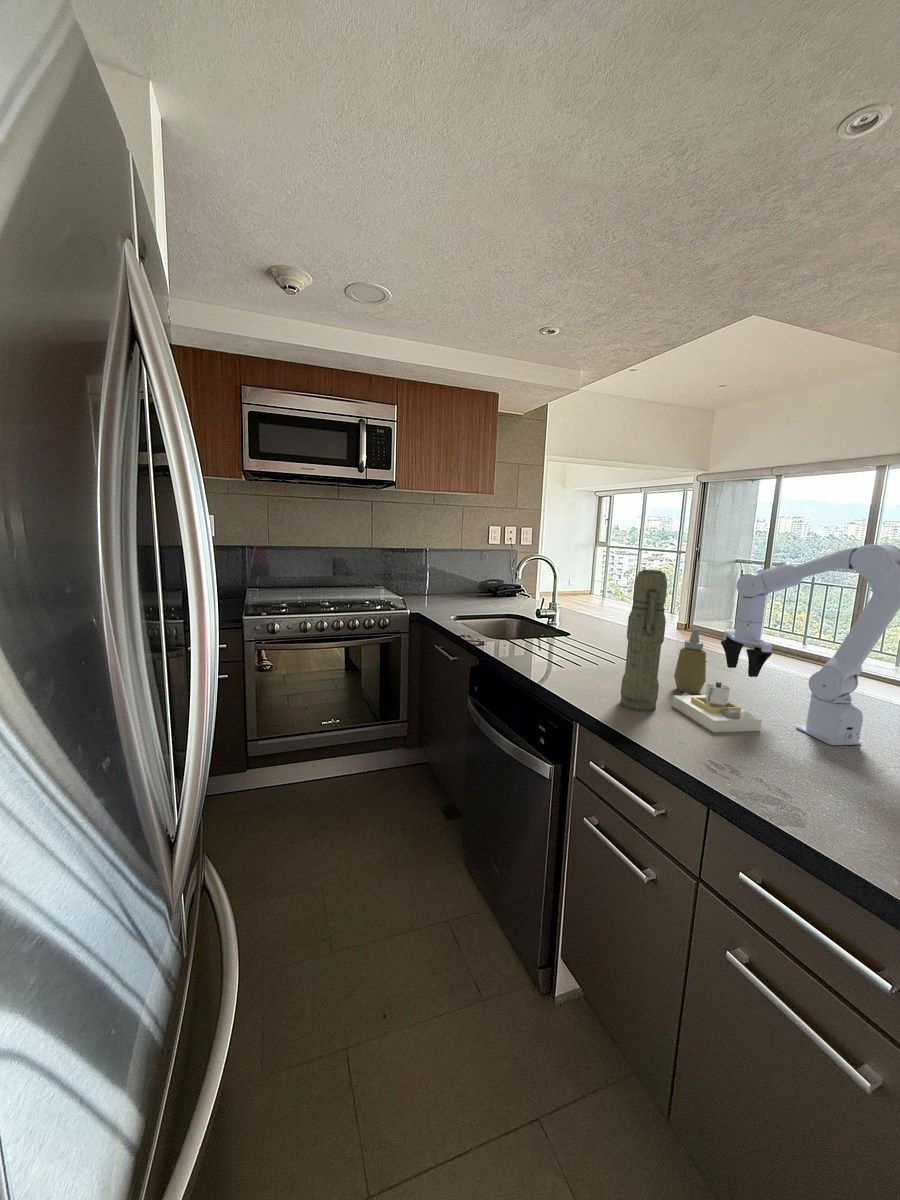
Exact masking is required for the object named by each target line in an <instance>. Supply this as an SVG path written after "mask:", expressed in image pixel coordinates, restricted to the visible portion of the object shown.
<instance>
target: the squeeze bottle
mask: <svg viewBox="0 0 900 1200" xmlns="http://www.w3.org/2000/svg"><path fill="white" fill-rule="evenodd" d="M703 648H704V642H702V641H700V635H699V629H698V628H693V630H692V632H691V634H690V637H689V639H687V640H685V641H684V647H681V648H680V649H679V655H678V658H677V662H676V667H675V670H674V676H673V677H674V682H675V686H676V690H678V691H679V692H683V693H685V692H686V693H688V694H690V695H698V694H699V693H701V692H702V689H703V687H704V685H705V683H706V681H707V680H706V678H707V677H706V676H707V675H706V674H707V665H706V664H707V652H706V651H705V650H704V649H703Z"/></svg>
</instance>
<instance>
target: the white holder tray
mask: <svg viewBox="0 0 900 1200" xmlns="http://www.w3.org/2000/svg"><path fill="white" fill-rule="evenodd" d="M705 699H706V694H700V695H698V694H690V693H686V692H683V693H682V695H672V704H671V706H672V707H673V708H674V709H676V710H678V711H680V712H681V713H682V714H684V715H685V716H688V717H689V718H690V719H691V720H693V721H695V722H696V723H698V724H699V725H701V726H702V727H704V728H706V729H707V730H710V732H712V733H727V732H728V733H731V732H734V733H735V732H760V731H761V728H762V721H763V720H762V719H761V718H760V717H758V716H756V715H755V714H752V713H751V712H748V711H747V710H745V709H743V708H742V707H740V706H738V705H736V704H735V703H733V702H731V701H729V700H728V704H727V707H711V706H709V705H707V704H705Z"/></svg>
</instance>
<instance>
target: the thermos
mask: <svg viewBox="0 0 900 1200" xmlns="http://www.w3.org/2000/svg"><path fill="white" fill-rule="evenodd" d="M667 591H668V579H667V576H666V573H665V572H663V571H662V570H658V569H656V570H655V569H642V570H639V571H638V573H637V575H636V577H635V580H634V585H633V597H632V600H633V603H632V607H631V611H630V613H629V615H628V619H627V629H626V640H627V650H626V661H625V668H624V674H623V676H622V677H621V679H622V680H621V687H620V705H621V706H622V707H624V708H626V709H628V710H632V711H636V712H641V713H642V712H643V713H645V712H647V713H648V712H654V711H655V710H656V709H657V701H658V696H659V688H660V683H659V680H658V675H659V668H660V658H661V648H662V645H663V643H664V641H665V632H666V622H667V618H666V616H665V615H666V614H665V610H666V609H665V604H666V599H667Z"/></svg>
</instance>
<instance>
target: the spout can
mask: <svg viewBox="0 0 900 1200" xmlns="http://www.w3.org/2000/svg"><path fill="white" fill-rule="evenodd" d="M722 683H723V682H721V681H716V682H715V683H707V685H706V692H705V695H706V699H705V704H707V705H709V706H711V707H727V704H728V701H729V696H730V687H729V686H727V685H723V684H722Z"/></svg>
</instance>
